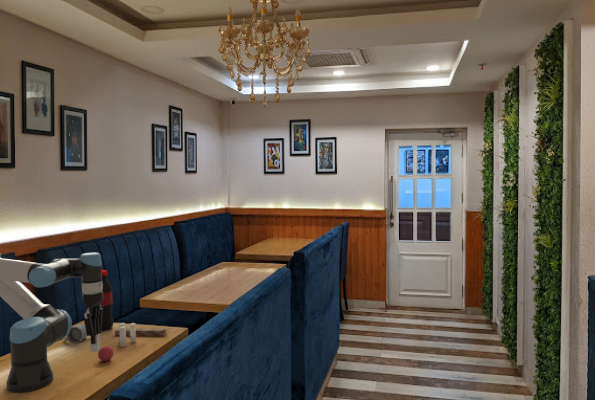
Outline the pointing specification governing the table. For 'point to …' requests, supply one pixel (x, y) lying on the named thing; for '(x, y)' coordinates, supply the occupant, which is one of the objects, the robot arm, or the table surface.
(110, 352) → the ball
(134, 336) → the pin
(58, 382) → the table surface
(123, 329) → the pin front
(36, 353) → the robot arm
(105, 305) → the cola bottle
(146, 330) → the back rail
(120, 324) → the pin
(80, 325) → the ceramic mug
